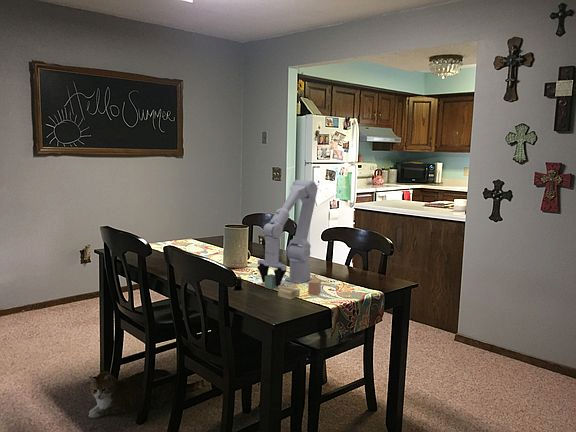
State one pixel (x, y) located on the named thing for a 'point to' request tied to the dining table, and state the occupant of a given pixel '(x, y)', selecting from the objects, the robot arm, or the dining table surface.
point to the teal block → (270, 281)
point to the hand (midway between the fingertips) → (271, 284)
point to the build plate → (238, 285)
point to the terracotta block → (314, 287)
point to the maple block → (288, 292)
